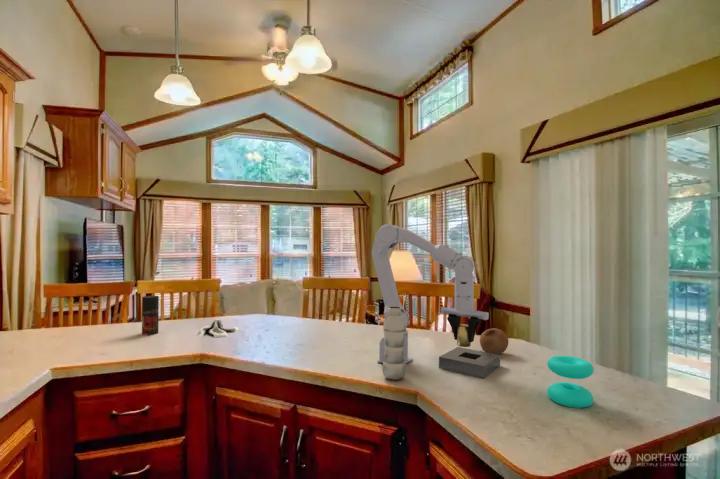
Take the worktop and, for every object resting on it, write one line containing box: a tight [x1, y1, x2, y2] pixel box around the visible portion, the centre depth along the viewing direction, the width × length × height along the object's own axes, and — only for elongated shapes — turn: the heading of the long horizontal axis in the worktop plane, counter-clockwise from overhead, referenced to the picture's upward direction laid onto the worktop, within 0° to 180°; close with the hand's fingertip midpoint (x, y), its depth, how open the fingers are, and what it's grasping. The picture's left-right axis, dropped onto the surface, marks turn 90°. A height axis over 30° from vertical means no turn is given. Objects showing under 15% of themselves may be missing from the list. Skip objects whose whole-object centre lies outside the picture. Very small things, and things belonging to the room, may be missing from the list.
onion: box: [479, 327, 509, 355], centre depth 135 cm, size 10×9×10 cm
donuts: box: [546, 355, 595, 409], centre depth 96 cm, size 10×10×10 cm
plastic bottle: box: [381, 306, 407, 380], centre depth 110 cm, size 6×7×20 cm
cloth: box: [194, 318, 239, 338], centre depth 161 cm, size 22×19×6 cm
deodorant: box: [141, 295, 160, 336], centre depth 160 cm, size 6×6×15 cm
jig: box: [438, 346, 501, 379], centre depth 120 cm, size 14×14×4 cm
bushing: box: [456, 323, 472, 348], centre depth 119 cm, size 4×4×6 cm
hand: (464, 340), depth 119 cm, fingers closed on bushing, 4 cm apart
